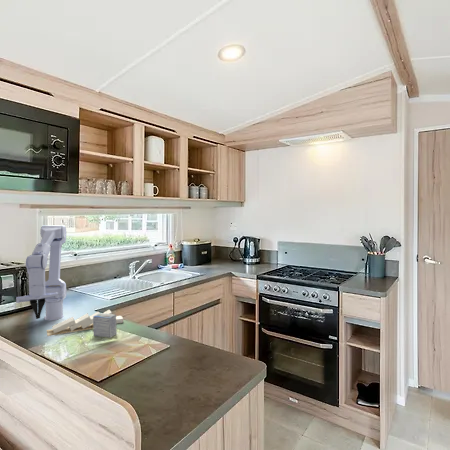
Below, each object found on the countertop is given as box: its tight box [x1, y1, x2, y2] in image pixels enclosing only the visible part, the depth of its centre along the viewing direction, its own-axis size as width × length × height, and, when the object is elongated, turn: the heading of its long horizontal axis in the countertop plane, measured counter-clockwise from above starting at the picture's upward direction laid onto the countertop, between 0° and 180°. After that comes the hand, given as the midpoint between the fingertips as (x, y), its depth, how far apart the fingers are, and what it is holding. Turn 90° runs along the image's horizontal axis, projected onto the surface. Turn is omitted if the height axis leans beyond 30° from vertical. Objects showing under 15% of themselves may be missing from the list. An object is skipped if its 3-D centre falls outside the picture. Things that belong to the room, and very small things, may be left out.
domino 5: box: [116, 315, 124, 325], centre depth 149 cm, size 5×2×8 cm
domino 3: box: [81, 311, 100, 329], centre depth 144 cm, size 5×2×8 cm
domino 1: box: [51, 316, 76, 334], centre depth 139 cm, size 5×2×8 cm
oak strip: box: [46, 324, 93, 337], centre depth 142 cm, size 8×24×1 cm, turn 121°
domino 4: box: [101, 309, 113, 314], centre depth 146 cm, size 5×2×8 cm
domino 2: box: [69, 312, 91, 331], centre depth 142 cm, size 5×2×8 cm
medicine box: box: [92, 312, 118, 338], centre depth 134 cm, size 8×4×9 cm, turn 74°
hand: (37, 317), depth 134 cm, fingers closed
